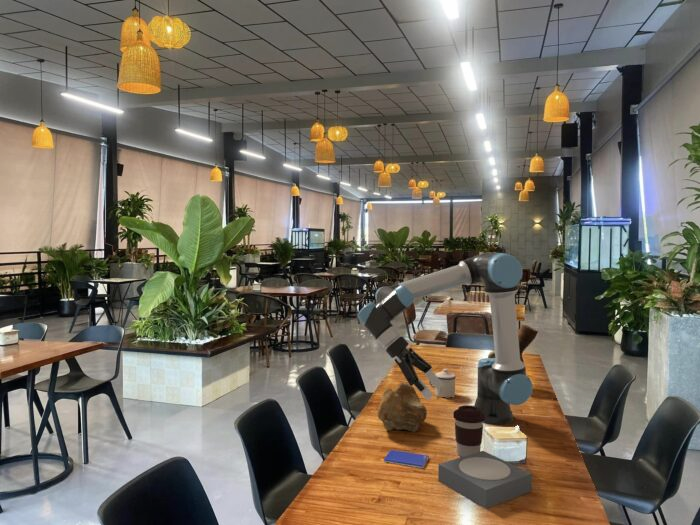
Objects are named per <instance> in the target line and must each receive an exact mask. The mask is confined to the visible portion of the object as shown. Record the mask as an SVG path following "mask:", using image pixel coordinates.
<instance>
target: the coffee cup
mask: <svg viewBox="0 0 700 525" xmlns="http://www.w3.org/2000/svg"><path fill="white" fill-rule="evenodd" d="M452 415H453V416H452V417H453V418H454V420H455V421H454V430H455V431H454V432H455V433H454V434H455V436H454V437H455V443H456V453H457V454H458V455H459V456H460V457H464V456H467V455H470V454H474V453H477V452H480V451H481V446H482V442H483V433H484V432H483V431H484V425H483V423H484V422H483V421H484V420H485V414H484V413H483V412H481V411H480V409H479V408H478V407H475V406H474V405H461V406H459V407H458V408H457V409H455V410H454V411H453V414H452Z"/></svg>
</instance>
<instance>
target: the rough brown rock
mask: <svg viewBox="0 0 700 525" xmlns="http://www.w3.org/2000/svg"><path fill="white" fill-rule="evenodd" d="M427 415H428V413H427V408H426V406H425V405H424V404H423V403H422V402H421V401H420V398H419V395H418V394H417V391H416V390H415V386H414V385H412V386H411V385H410V384H409V383H408V382H405V381H401V382H399V383H398V384H397V386H396V387H395V389H394V390H393V389H392V388H390V387H385V389H384V390H383V392H382V395H381V399H380V402H379V405H378V409H377V417H378V420H380V421H381V422H382V425H383V427H384V429H385V430H386V431H393V430H394V429H395V430H397V431H398V430H399V431H400V430H407V431H409V432H412V433H417V431H419V429H420V428H421V426H422V425H423V424H424V422H425V421H426V419H427Z"/></svg>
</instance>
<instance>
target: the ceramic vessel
mask: <svg viewBox="0 0 700 525" xmlns="http://www.w3.org/2000/svg"><path fill="white" fill-rule="evenodd" d="M538 332H539V331H538V330H537V329H536V328H533V327H531V326H528V325H526V324H521V326H520V328H519V329H518V340H519V351H520V360H521V361H522V362H523V363H524V364H525V362H524V359H523V352H524V351H525V350H526V349H527V348H528V347H529V345H530V344H531V343H532V342H533V341H534V340H535V339H536V337H537V335H538V334H539V333H538ZM487 358H495V350H493V351H491V352H489V353H488V355H487Z"/></svg>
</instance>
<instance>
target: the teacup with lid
mask: <svg viewBox="0 0 700 525" xmlns="http://www.w3.org/2000/svg"><path fill="white" fill-rule="evenodd" d="M434 374H435V375H436V376H437V377H438V378H439V380H440V381H441V382H442V383H443V385H442V386H441V387H440V388H438V389H436V387H435V386H434V385H433V384H432V383H431V382H430V380H429V379H428V384H429V387H431V388H432V389H434V395H435V397H438V396H439V397H438V398H441V397H445V398H444V399H451V398H450V397H452V398H454V397H455V396H456V378H457V376H456V375H455V374H454V373H452V372H451V371H449V370H448V369H447V368H443V369H442V370H441V371H440V372H437V373H434ZM453 396H454V397H453Z"/></svg>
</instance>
